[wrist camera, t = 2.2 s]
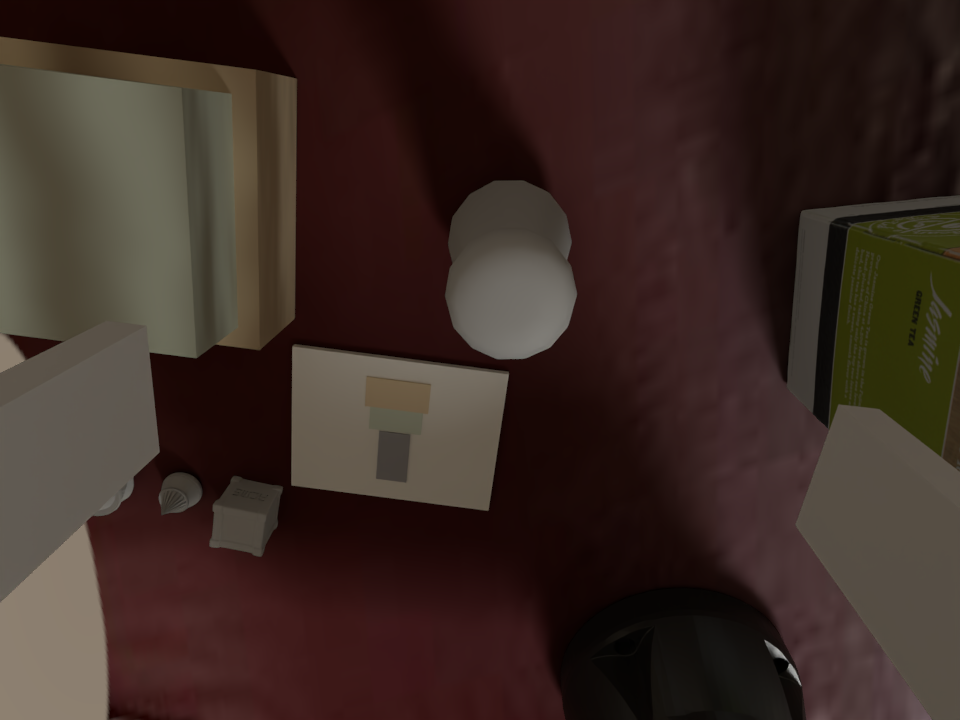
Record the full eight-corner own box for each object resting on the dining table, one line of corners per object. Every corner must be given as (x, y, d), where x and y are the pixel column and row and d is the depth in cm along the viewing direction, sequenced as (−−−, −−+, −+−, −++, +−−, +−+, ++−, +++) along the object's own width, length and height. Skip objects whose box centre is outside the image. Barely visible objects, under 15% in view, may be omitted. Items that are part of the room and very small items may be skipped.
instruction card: (508, 371, 34) (508, 375, 33) (488, 506, 37) (488, 511, 36) (294, 344, 34) (291, 347, 33) (293, 481, 37) (290, 486, 36)
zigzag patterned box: (296, 78, 29) (209, 59, 20) (294, 318, 33) (222, 383, 25) (46, 46, 29) (-145, 14, 20) (77, 290, 33) (-70, 346, 25)
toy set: (285, 480, 38) (265, 516, 34) (279, 523, 39) (259, 563, 35) (88, 438, 37) (47, 471, 33) (88, 485, 38) (49, 521, 35)
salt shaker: (454, 289, 32) (421, 389, 20) (449, 177, 30) (410, 213, 18) (565, 288, 32) (600, 389, 20) (568, 174, 30) (609, 209, 18)
